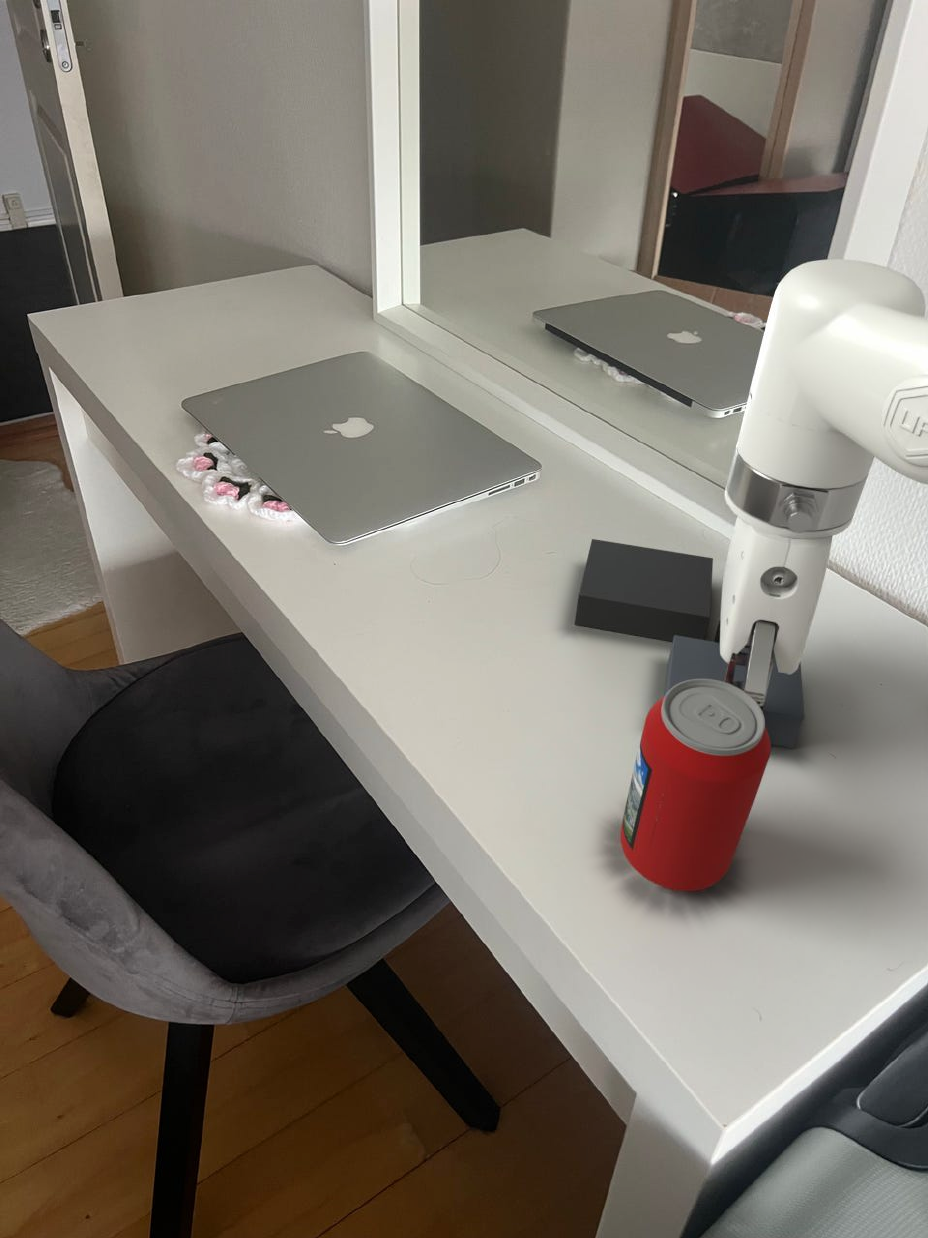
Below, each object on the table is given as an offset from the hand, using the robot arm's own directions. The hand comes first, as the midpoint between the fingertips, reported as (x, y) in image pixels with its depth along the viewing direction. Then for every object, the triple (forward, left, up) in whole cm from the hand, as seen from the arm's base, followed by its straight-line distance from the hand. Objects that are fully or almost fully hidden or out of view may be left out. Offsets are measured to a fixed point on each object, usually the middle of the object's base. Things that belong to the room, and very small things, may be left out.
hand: (728, 698), depth 65 cm
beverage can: (+3, +14, -1) cm, 14 cm away
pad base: (+7, -10, -1) cm, 12 cm away
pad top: (0, 0, -1) cm, 1 cm away
